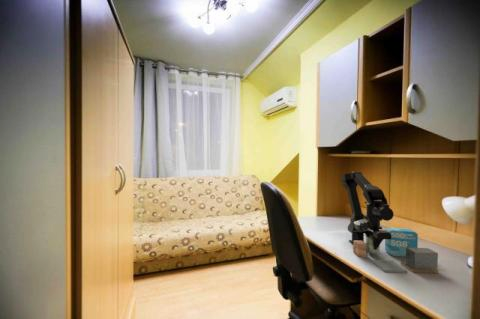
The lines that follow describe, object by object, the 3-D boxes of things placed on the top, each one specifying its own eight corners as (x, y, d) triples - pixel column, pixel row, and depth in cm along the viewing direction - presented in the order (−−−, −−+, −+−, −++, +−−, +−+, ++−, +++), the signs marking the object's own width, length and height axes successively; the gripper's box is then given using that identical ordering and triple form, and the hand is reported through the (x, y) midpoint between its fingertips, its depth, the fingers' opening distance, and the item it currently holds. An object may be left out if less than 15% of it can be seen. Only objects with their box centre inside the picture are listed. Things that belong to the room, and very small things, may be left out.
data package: (388, 255, 107) (389, 230, 107) (384, 251, 111) (385, 227, 111) (417, 258, 104) (418, 232, 104) (412, 254, 108) (412, 229, 108)
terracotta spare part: (353, 252, 109) (353, 240, 109) (361, 252, 109) (361, 240, 109) (357, 256, 105) (357, 243, 105) (366, 256, 105) (366, 243, 105)
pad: (371, 261, 99) (371, 259, 99) (392, 262, 99) (392, 260, 99) (384, 272, 90) (384, 270, 90) (407, 272, 90) (407, 270, 90)
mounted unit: (401, 264, 97) (401, 245, 97) (424, 265, 97) (425, 246, 97) (413, 272, 90) (413, 252, 90) (438, 273, 90) (439, 253, 90)
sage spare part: (366, 249, 109) (366, 236, 109) (374, 249, 109) (374, 236, 109) (370, 252, 105) (370, 239, 105) (379, 252, 105) (379, 239, 105)
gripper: (347, 210, 116) (346, 240, 116) (366, 219, 97) (366, 255, 98) (368, 210, 116) (368, 240, 116) (392, 220, 97) (392, 256, 97)
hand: (372, 247), depth 107 cm, fingers closed on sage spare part, 4 cm apart
